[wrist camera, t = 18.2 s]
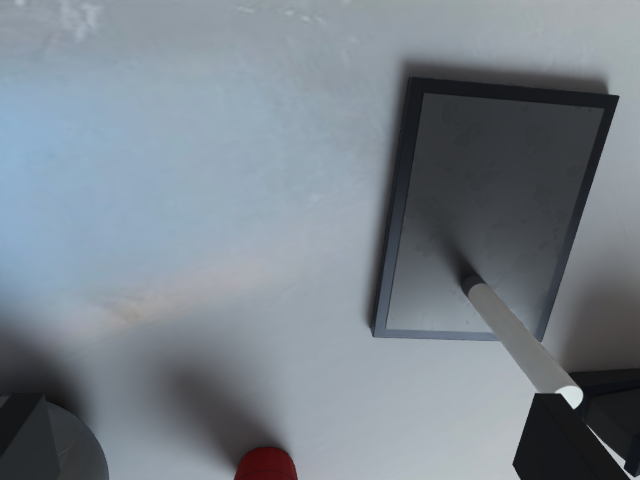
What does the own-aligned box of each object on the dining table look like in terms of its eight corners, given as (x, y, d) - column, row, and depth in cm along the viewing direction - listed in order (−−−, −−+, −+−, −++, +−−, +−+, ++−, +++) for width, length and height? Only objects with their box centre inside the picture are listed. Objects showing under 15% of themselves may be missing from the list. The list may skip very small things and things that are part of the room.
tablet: (408, 76, 33) (412, 76, 32) (609, 94, 35) (621, 95, 34) (370, 330, 41) (372, 338, 40) (535, 335, 43) (542, 343, 42)
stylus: (463, 274, 39) (554, 385, 26) (486, 275, 39) (587, 385, 26) (459, 295, 39) (545, 412, 26) (481, 296, 39) (577, 413, 27)
